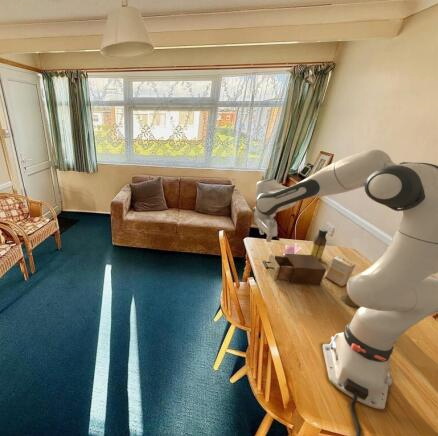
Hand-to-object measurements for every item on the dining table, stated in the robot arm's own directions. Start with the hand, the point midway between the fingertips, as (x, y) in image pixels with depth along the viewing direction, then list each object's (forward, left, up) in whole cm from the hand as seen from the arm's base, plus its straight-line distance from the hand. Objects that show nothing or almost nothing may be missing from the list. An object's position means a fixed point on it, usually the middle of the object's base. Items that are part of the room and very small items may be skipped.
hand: (265, 237), depth 116 cm
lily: (+31, -12, -25) cm, 41 cm away
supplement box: (+22, -35, -25) cm, 48 cm away
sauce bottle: (+40, -24, -25) cm, 53 cm away
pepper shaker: (+7, -41, -24) cm, 49 cm away
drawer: (+8, -10, -24) cm, 27 cm away
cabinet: (+14, -19, -25) cm, 34 cm away
